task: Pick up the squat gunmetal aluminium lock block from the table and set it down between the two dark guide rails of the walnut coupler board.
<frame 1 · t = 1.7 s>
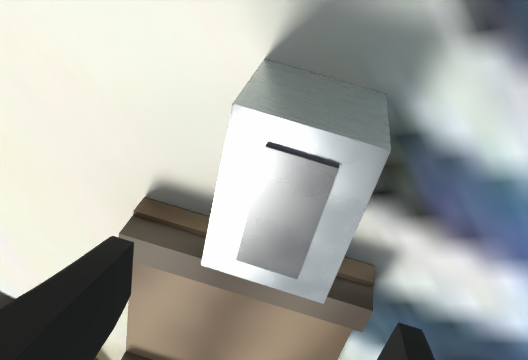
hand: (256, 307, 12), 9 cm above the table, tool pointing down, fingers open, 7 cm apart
lock block: (302, 149, 20), on the table
coupler board: (235, 315, 26), on the table
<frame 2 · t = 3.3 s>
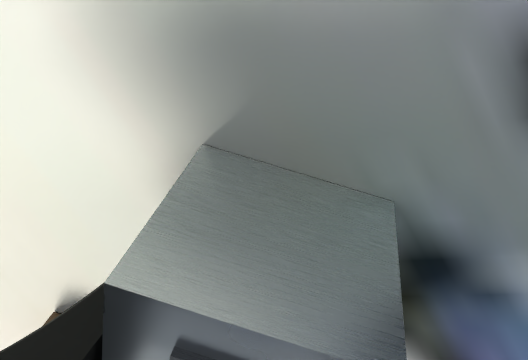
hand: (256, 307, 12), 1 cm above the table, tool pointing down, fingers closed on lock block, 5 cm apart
lock block: (266, 270, 13), on the table, touching gripper
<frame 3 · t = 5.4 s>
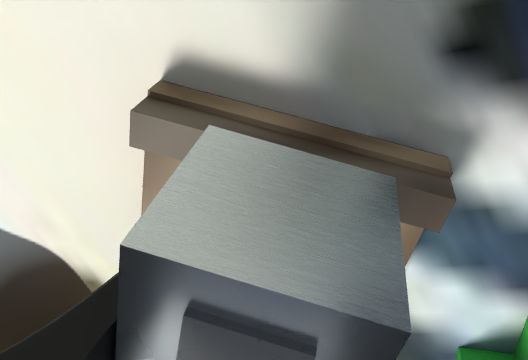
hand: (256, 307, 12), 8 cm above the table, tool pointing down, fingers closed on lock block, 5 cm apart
lock block: (272, 249, 13), point 6 cm above the table, touching gripper
coupler board: (269, 238, 22), on the table
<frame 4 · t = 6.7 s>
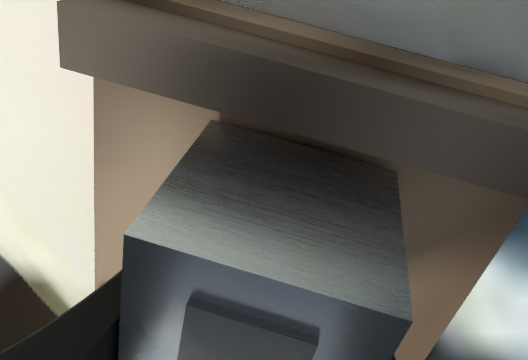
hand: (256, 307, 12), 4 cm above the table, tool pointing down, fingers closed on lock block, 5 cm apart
lock block: (273, 244, 13), point 2 cm above the table, touching gripper
coupler board: (280, 224, 15), on the table
when the fingers open (4 cm above the table, at t = 7.6 s): lock block stays where it is, resting on coupler board.
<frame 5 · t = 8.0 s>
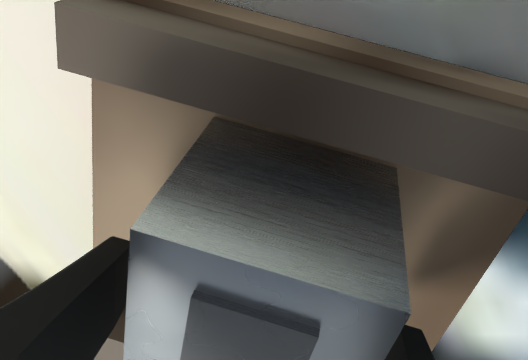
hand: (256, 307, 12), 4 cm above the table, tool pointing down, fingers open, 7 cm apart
lock block: (275, 239, 14), point 1 cm above the table, touching coupler board
coupler board: (279, 226, 15), on the table
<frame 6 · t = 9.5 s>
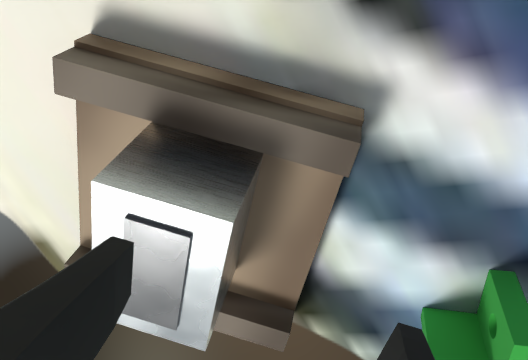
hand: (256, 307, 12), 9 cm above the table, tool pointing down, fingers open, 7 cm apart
lock block: (197, 201, 21), point 1 cm above the table, touching coupler board
pipe clamp: (453, 339, 24), on the table
coupler board: (204, 194, 22), on the table
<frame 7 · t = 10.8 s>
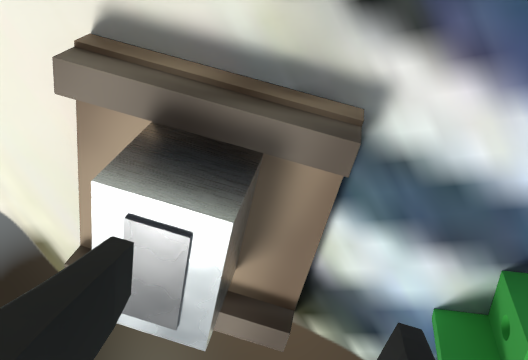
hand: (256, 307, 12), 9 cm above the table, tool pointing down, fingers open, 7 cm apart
lock block: (197, 201, 21), point 1 cm above the table, touching coupler board
pipe clamp: (464, 341, 24), on the table
coupler board: (204, 194, 22), on the table
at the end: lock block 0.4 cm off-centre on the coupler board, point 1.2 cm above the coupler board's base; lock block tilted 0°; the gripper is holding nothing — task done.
